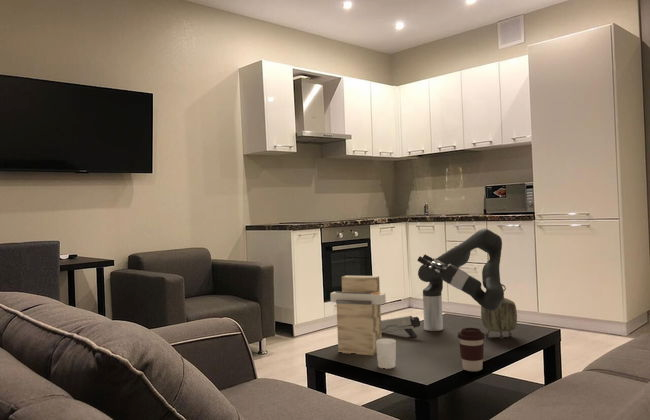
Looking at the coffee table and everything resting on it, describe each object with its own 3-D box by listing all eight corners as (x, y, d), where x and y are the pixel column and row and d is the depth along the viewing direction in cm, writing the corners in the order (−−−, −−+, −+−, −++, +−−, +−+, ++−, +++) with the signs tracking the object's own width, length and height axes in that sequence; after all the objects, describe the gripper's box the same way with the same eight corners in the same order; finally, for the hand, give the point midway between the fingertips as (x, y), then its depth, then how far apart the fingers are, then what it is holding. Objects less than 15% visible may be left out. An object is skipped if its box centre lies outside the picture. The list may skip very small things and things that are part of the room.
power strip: (334, 300, 238) (334, 290, 238) (385, 302, 228) (385, 292, 228) (330, 302, 234) (330, 292, 234) (382, 304, 224) (382, 293, 224)
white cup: (373, 365, 211) (372, 340, 211) (390, 362, 214) (389, 337, 214) (382, 370, 204) (381, 344, 203) (400, 367, 207) (399, 341, 207)
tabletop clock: (512, 334, 250) (510, 281, 250) (519, 339, 241) (517, 284, 241) (481, 335, 251) (479, 283, 250) (487, 340, 241) (485, 285, 241)
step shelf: (348, 345, 242) (345, 275, 242) (381, 348, 236) (379, 276, 235) (338, 352, 231) (335, 279, 231) (372, 355, 224) (370, 280, 224)
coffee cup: (456, 365, 206) (455, 326, 206) (482, 364, 206) (480, 326, 206) (462, 373, 196) (460, 332, 196) (489, 372, 196) (487, 332, 196)
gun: (421, 336, 249) (416, 315, 250) (377, 342, 264) (373, 322, 265) (424, 335, 251) (419, 314, 253) (380, 341, 266) (375, 321, 267)
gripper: (462, 267, 223) (428, 248, 228) (456, 271, 210) (420, 251, 215) (454, 282, 224) (420, 263, 230) (447, 287, 211) (412, 266, 217)
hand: (420, 257), depth 223 cm, fingers open, 8 cm apart
